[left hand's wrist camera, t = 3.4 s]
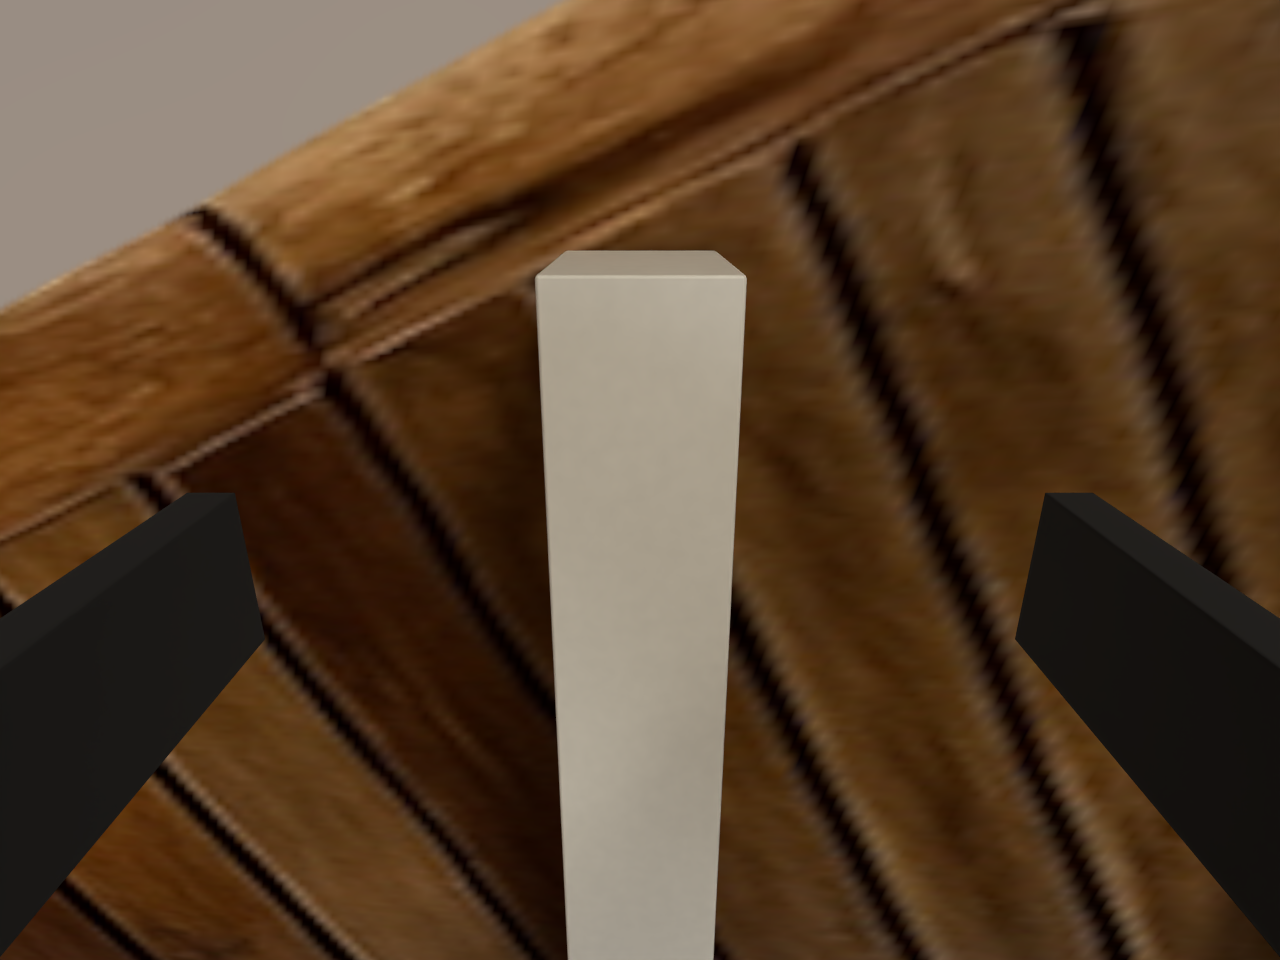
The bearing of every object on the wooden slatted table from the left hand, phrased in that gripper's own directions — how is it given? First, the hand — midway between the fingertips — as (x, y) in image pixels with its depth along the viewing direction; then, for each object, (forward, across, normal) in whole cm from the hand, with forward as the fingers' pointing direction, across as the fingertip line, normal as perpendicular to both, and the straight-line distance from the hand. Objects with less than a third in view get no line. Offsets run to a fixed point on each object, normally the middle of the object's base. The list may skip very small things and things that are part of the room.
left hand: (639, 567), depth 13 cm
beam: (+15, 0, +13) cm, 20 cm away
